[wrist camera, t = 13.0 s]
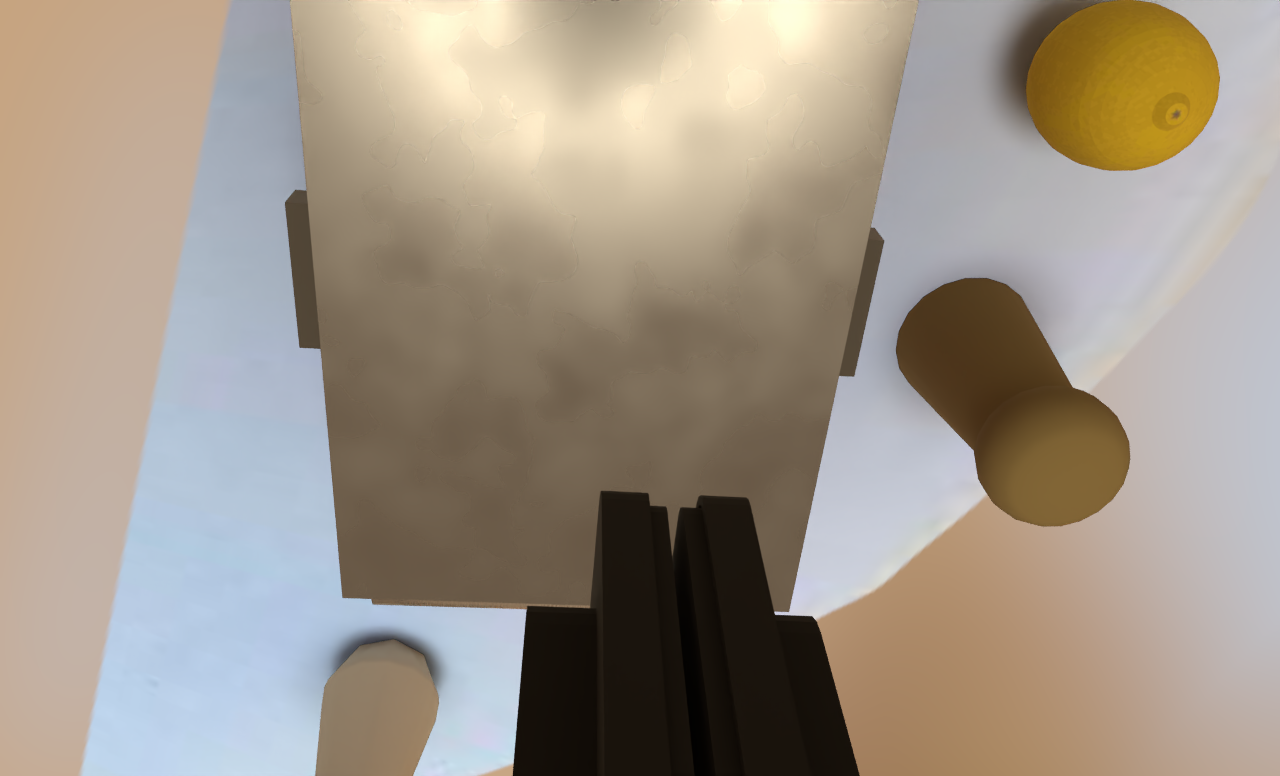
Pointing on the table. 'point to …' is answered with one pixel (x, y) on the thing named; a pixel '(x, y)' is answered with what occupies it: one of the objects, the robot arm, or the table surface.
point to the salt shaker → (376, 713)
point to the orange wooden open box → (308, 305)
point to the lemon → (1122, 85)
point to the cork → (1012, 403)
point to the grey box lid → (581, 270)
